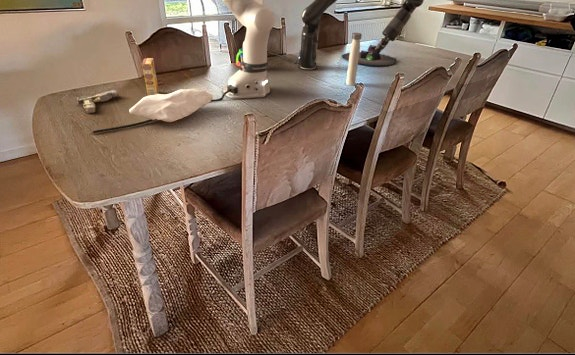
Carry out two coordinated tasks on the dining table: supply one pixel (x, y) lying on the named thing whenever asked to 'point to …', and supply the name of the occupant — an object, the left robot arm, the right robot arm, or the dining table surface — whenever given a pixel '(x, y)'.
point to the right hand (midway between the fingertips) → (373, 56)
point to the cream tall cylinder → (353, 62)
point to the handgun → (95, 100)
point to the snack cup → (240, 55)
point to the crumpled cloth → (171, 104)
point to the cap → (356, 36)
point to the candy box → (150, 76)
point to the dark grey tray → (369, 60)
